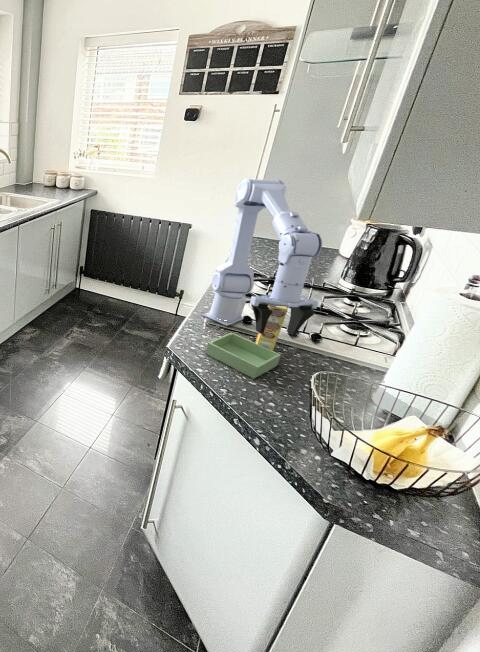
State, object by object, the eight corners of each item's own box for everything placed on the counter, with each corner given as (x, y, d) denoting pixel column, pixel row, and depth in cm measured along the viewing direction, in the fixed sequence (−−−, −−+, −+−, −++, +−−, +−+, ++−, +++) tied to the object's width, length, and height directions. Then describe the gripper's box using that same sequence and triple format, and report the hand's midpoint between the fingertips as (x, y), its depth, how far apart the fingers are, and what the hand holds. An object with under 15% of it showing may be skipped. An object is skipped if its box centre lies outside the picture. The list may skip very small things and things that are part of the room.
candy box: (270, 359, 115) (289, 309, 108) (252, 354, 117) (269, 305, 110) (271, 344, 121) (288, 297, 115) (254, 340, 123) (270, 293, 117)
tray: (228, 342, 122) (231, 332, 121) (277, 365, 112) (281, 354, 110) (204, 353, 117) (208, 342, 116) (253, 378, 107) (258, 367, 105)
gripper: (267, 285, 99) (253, 337, 103) (333, 288, 98) (316, 341, 102) (251, 276, 105) (238, 326, 110) (312, 279, 104) (297, 329, 109)
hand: (275, 332), depth 106 cm, fingers open, 7 cm apart
